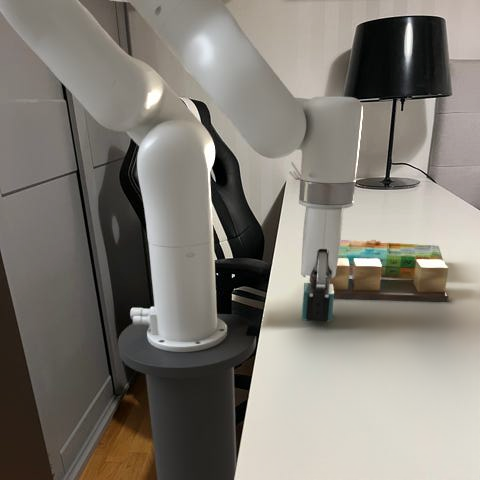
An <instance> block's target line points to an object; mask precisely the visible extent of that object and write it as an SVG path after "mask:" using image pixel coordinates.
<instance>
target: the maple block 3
mask: <svg viewBox="0 0 480 480" xmlns="http://www.w3.org/2000/svg"><path fill="white" fill-rule="evenodd" d="M443 261H444V259H443V260H416V267H415V275H414V278H413V280H414V285H415V287H416V289H417V290H418V292H446V286H447V280H448V274H449V266H448V265H447V264H446V263H445V261H444V262H443Z"/></svg>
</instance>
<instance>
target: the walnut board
mask: <svg viewBox="0 0 480 480" xmlns="http://www.w3.org/2000/svg"><path fill="white" fill-rule="evenodd" d="M333 290H334V299H337V300H340V299H342V300H371V301H373V300H374V301H375V300H377V301H405V302H407V301H408V302H410V301H411V302H440V303H441V302H445V303H447V302H449V295H448V293H447V292H446V291H445V292H418V290H417V289H416V287H415V285H414V279H388V278H387V279H385V278H381V282H380V290H379V291H377V290H354V288H353V284H352V278H349V281H348V290H340V289H333Z"/></svg>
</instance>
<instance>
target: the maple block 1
mask: <svg viewBox="0 0 480 480" xmlns="http://www.w3.org/2000/svg"><path fill="white" fill-rule="evenodd" d="M349 267H350V266H349V261H348V258H338V263H337V269H336V275H335V277H333V278H332V279H331V276H330V284H333V289H340V290H348V281H349V279H350V274H349Z"/></svg>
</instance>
